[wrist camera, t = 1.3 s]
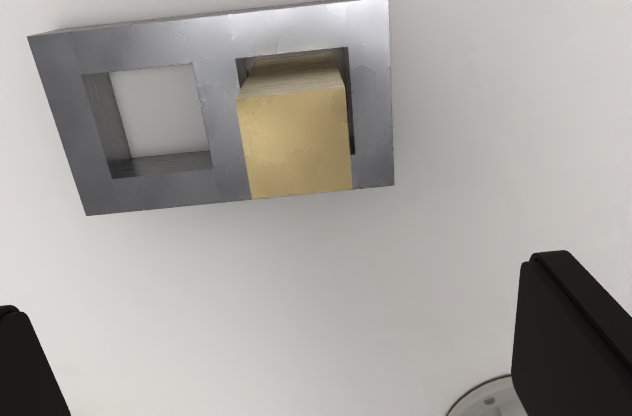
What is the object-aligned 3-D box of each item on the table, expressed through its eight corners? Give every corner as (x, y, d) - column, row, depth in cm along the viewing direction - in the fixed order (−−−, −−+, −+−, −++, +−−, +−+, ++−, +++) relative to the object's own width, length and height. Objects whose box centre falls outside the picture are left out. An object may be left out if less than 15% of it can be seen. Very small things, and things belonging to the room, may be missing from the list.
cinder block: (378, -6, 27) (388, -3, 24) (385, 164, 32) (394, 185, 28) (58, 29, 28) (26, 36, 25) (107, 192, 32) (86, 215, 29)
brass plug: (332, 52, 29) (345, 87, 20) (338, 126, 30) (352, 189, 21) (256, 60, 29) (235, 99, 20) (267, 133, 31) (251, 199, 22)
